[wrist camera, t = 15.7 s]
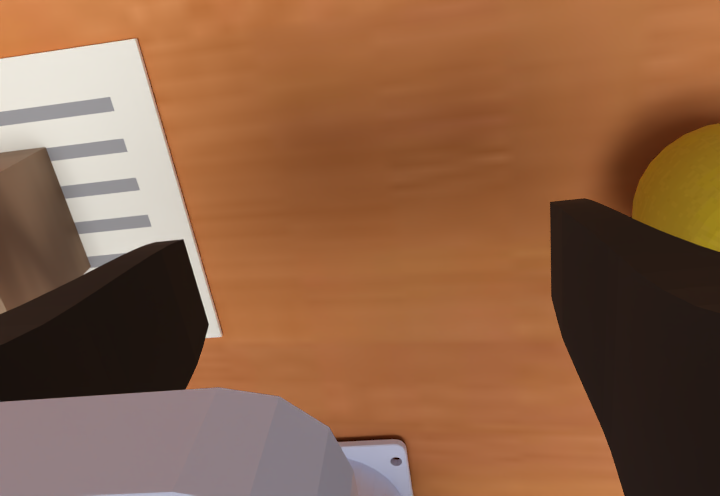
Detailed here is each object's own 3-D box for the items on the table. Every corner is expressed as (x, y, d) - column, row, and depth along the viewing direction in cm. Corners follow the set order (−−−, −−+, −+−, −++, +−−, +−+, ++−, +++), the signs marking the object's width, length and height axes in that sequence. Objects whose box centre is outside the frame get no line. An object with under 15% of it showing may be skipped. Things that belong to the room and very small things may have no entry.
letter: (222, 334, 26) (221, 337, 26) (-75, 358, 28) (-77, 359, 28) (137, 38, 21) (135, 38, 21) (-221, 91, 23) (-225, 92, 22)
